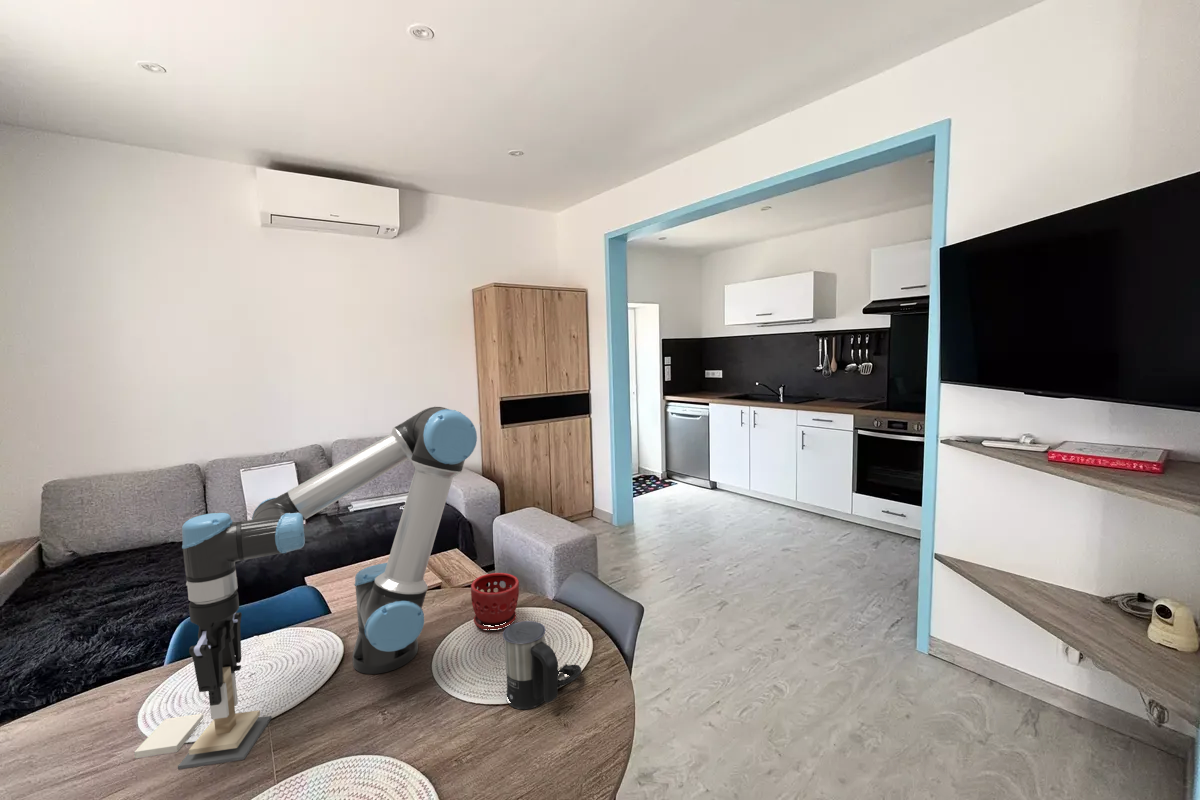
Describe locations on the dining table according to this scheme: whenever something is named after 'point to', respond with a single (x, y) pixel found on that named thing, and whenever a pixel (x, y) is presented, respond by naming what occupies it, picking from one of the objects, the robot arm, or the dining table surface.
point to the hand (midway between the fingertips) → (224, 711)
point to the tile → (169, 736)
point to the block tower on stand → (225, 725)
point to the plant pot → (494, 600)
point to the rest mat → (228, 754)
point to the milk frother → (532, 666)
